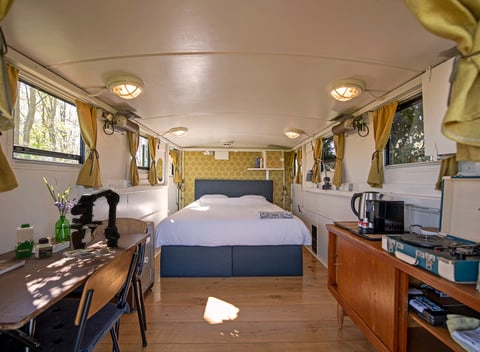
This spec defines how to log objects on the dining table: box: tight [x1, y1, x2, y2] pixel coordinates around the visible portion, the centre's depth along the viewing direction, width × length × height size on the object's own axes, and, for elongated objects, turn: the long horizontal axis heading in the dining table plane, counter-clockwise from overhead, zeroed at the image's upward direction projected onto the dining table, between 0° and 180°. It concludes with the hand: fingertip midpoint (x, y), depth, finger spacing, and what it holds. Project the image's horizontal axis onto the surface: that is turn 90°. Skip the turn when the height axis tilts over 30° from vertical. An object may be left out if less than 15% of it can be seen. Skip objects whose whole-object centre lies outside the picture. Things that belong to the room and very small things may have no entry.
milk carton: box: [14, 223, 35, 259], centre depth 151 cm, size 9×9×20 cm
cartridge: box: [82, 227, 92, 243], centre depth 150 cm, size 5×5×8 cm
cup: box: [70, 230, 95, 250], centre depth 171 cm, size 10×14×12 cm
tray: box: [62, 249, 88, 259], centre depth 153 cm, size 10×10×2 cm
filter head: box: [75, 248, 112, 261], centre depth 153 cm, size 18×10×3 cm, turn 145°
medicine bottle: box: [34, 236, 54, 259], centre depth 150 cm, size 7×7×12 cm
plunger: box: [100, 245, 108, 250], centre depth 158 cm, size 4×4×3 cm
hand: (86, 238), depth 150 cm, fingers closed on cartridge, 5 cm apart
